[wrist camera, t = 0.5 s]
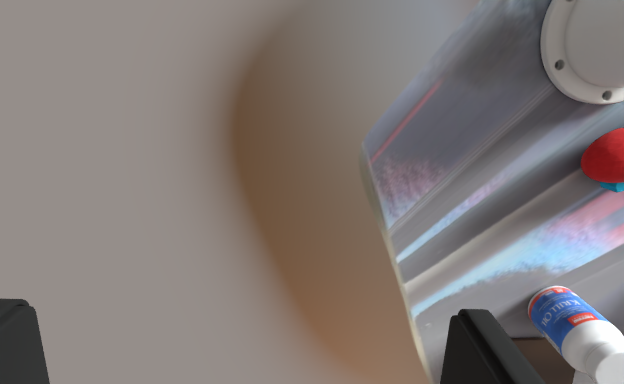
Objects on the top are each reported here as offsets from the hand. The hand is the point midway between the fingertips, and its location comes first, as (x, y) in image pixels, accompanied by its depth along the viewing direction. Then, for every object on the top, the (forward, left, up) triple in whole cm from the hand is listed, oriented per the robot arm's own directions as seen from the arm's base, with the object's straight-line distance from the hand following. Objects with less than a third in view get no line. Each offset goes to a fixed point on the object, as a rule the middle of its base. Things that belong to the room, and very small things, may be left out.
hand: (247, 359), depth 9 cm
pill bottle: (+19, +28, -30) cm, 45 cm away
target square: (+27, +28, -29) cm, 49 cm away
